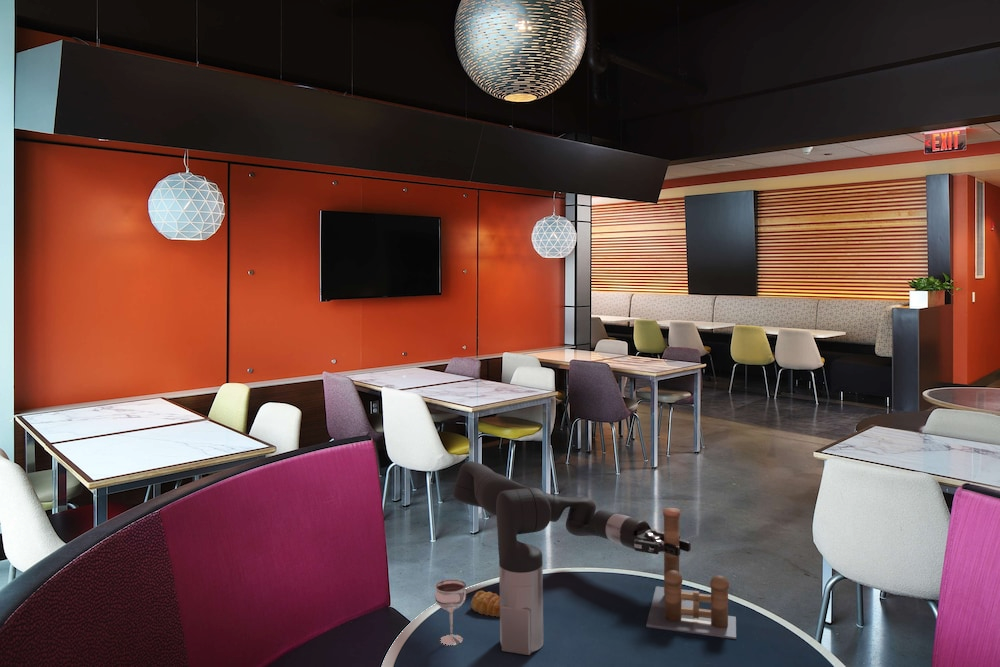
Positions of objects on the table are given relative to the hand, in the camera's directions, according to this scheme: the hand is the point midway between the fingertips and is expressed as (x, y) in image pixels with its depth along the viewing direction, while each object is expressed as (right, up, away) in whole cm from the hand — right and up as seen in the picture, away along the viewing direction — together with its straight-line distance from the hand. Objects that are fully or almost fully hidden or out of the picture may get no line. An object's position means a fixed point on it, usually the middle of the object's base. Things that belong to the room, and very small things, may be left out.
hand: (684, 549), depth 166 cm
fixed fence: (0, -14, -10) cm, 17 cm away
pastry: (-47, -14, -1) cm, 49 cm away
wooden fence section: (-3, -12, 0) cm, 12 cm away
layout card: (+1, -13, -4) cm, 14 cm away
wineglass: (-55, -15, -16) cm, 59 cm away
